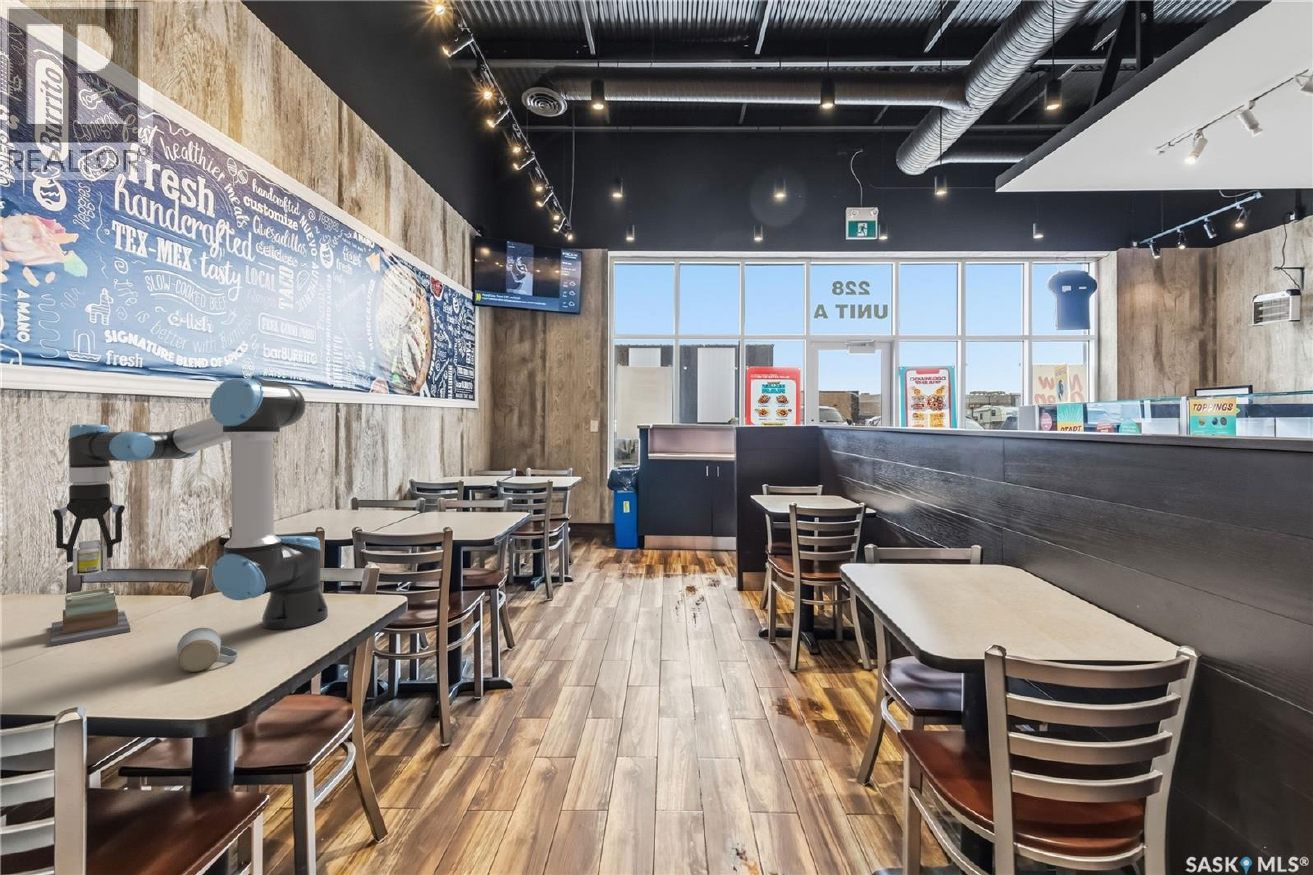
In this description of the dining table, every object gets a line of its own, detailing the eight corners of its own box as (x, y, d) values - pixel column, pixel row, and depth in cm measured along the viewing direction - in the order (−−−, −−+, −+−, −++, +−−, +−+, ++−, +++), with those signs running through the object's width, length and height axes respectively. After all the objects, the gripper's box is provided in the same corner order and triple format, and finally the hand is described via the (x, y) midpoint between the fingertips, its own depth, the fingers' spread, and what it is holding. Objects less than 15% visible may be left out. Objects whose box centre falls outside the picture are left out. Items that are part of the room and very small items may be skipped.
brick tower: (130, 631, 147) (130, 595, 147) (51, 646, 137) (50, 607, 137) (124, 615, 161) (123, 581, 161) (51, 627, 151) (51, 591, 150)
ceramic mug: (176, 677, 119) (177, 641, 119) (177, 665, 125) (177, 630, 125) (239, 665, 126) (239, 630, 126) (236, 654, 132) (237, 621, 132)
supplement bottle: (88, 571, 151) (88, 539, 151) (107, 571, 151) (107, 539, 151) (71, 575, 146) (71, 543, 146) (91, 575, 146) (91, 542, 146)
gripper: (134, 480, 158) (134, 564, 158) (39, 484, 145) (40, 576, 145) (137, 482, 152) (137, 569, 153) (39, 486, 140) (39, 581, 140)
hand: (90, 572), depth 149 cm, fingers closed on supplement bottle, 5 cm apart
